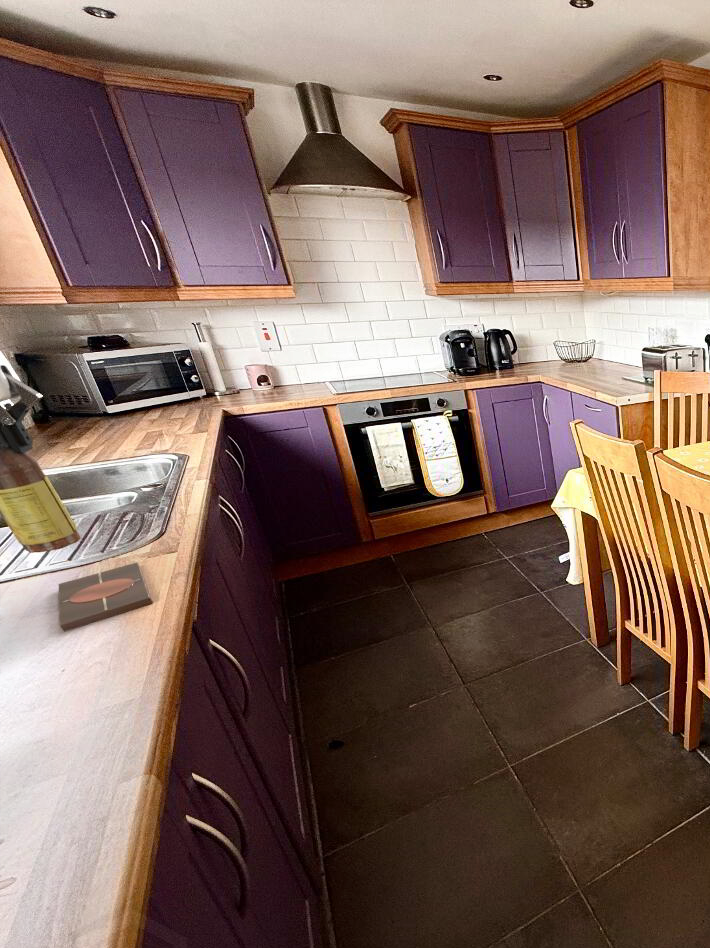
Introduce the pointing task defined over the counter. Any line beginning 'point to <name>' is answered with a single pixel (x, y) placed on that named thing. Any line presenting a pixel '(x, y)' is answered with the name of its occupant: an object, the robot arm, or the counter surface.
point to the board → (102, 596)
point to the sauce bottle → (32, 503)
